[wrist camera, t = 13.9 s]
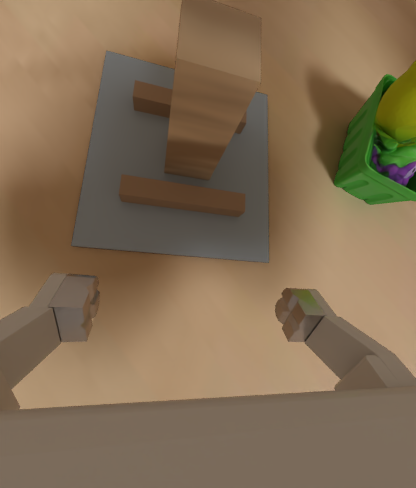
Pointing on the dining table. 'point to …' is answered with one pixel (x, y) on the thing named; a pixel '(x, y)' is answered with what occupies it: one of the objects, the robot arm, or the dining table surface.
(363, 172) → the fruit basket
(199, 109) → the card block
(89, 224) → the mat
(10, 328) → the robot arm
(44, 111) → the dining table surface
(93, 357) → the dining table surface
